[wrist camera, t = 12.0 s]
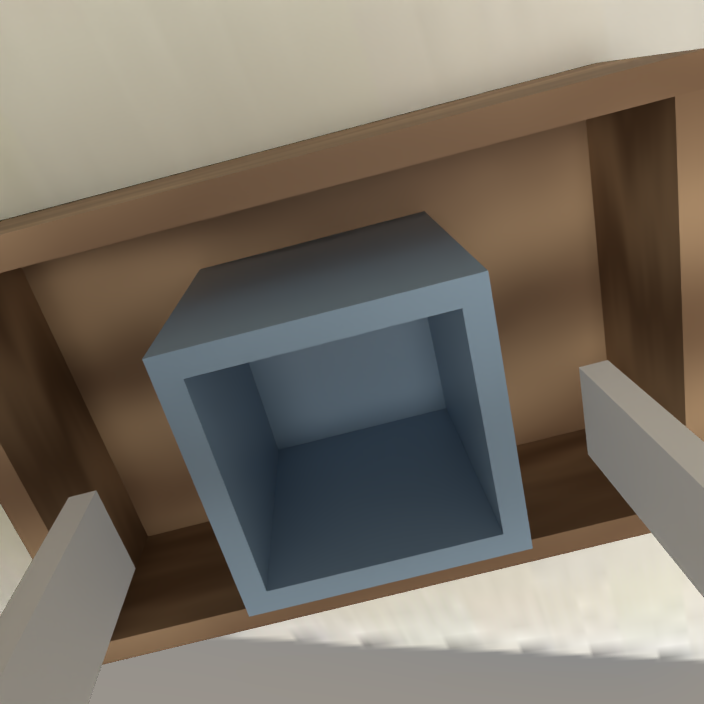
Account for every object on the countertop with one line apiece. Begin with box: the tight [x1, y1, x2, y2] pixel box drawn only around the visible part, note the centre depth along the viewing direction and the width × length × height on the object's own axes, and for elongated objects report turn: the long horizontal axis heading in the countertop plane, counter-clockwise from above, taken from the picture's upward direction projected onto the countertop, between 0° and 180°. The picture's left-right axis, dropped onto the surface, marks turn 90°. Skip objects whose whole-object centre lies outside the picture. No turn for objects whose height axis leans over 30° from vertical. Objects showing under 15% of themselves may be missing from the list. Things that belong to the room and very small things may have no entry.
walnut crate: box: [0, 49, 704, 665], centre depth 23 cm, size 16×24×7 cm, turn 104°
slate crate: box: [142, 211, 533, 617], centre depth 21 cm, size 9×9×9 cm
